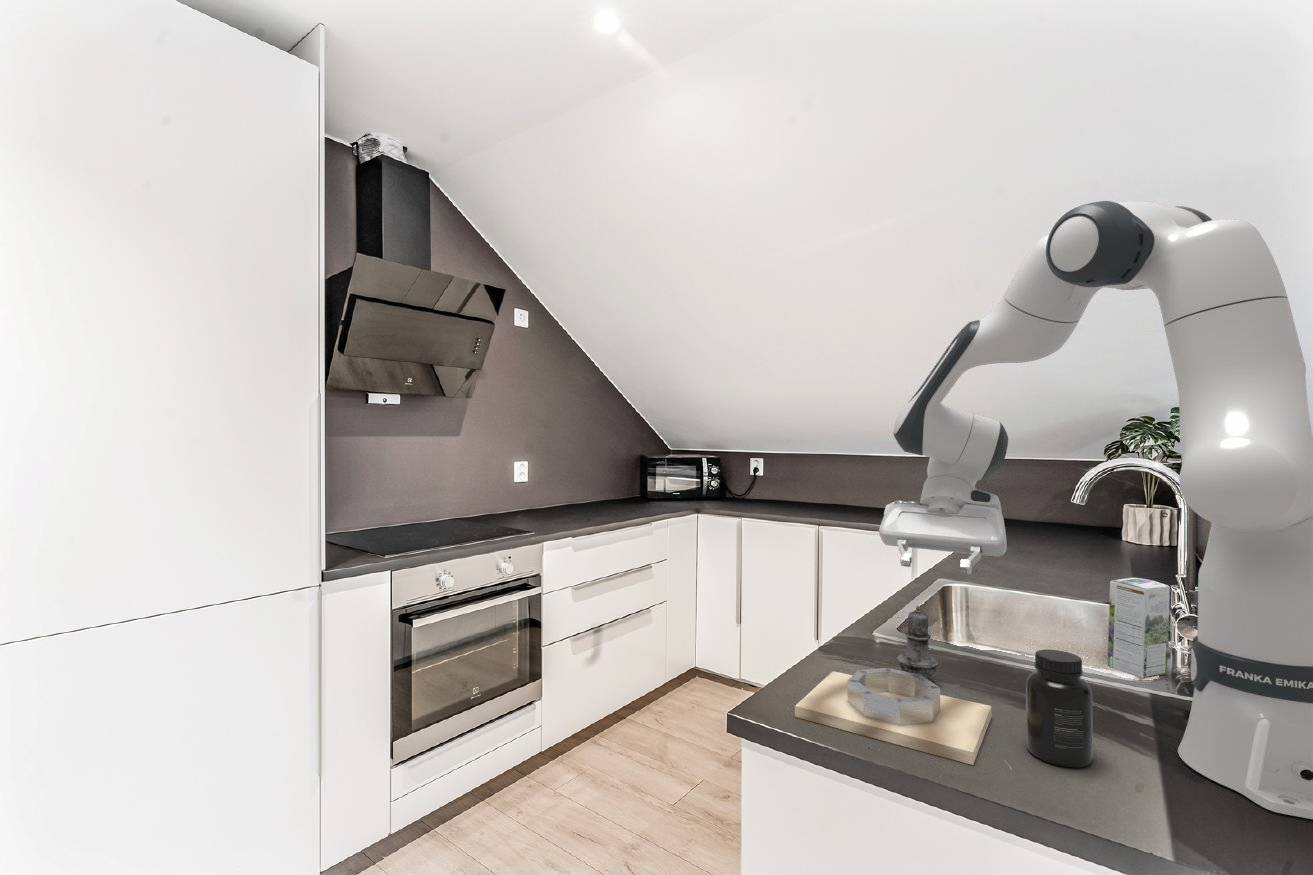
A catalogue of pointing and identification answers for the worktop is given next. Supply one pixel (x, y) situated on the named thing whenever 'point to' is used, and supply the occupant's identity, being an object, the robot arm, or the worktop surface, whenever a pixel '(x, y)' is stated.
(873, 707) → the metal collar
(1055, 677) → the supplement bottle
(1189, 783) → the worktop surface
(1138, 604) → the syrup box
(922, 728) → the carrier plate
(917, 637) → the dark grey turned piece
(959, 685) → the worktop surface
